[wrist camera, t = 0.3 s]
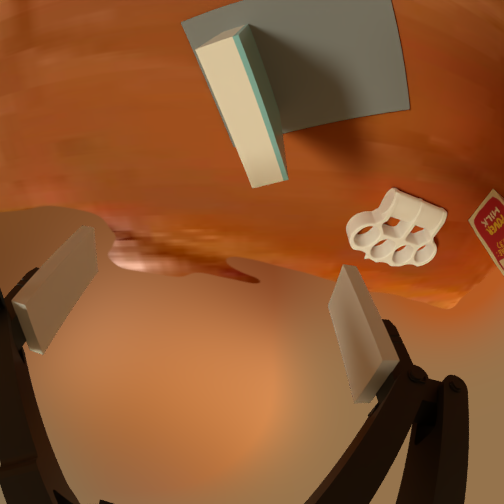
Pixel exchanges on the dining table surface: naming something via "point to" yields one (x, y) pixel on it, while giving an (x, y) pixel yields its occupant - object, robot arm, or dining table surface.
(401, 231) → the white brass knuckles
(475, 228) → the milk carton
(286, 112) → the mat
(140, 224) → the dining table surface
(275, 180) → the tile
